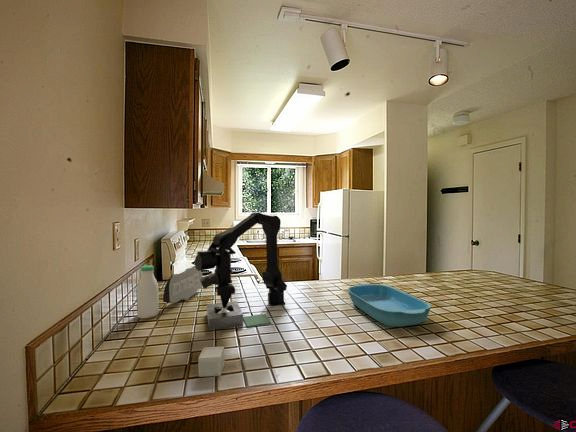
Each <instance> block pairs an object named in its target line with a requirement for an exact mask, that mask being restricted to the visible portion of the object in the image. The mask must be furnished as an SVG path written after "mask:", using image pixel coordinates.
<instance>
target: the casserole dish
mask: <svg viewBox="0 0 576 432" xmlns="http://www.w3.org/2000/svg"><path fill="white" fill-rule="evenodd" d="M347 290H348V294H349V298H350V301H351V302H352V303H353V304H354V305H355V307H357V308H359V310H361V311H362V312H364V313H365V314H367V315H368V316H370V317H371V318H372V319H374V320H375V321H377V322H379V323H380V324H381V325H383V326H387V327H393V328H394V327H395V328H399V327H407V326H413V325H419V324H422V323H424V322H425V321H426V320H427V318H428V315H430V314H429V313H430V310H431V308H432V305H431V304H429V303H428V302H427V301H425V300H423V299H420V298H418V297H416V296H414V295H412V294H409V293H407V292H404V291H402V290H400V289H398V288H395V287H393V286H390V285H386V284H370V283H361V284H356V285H353V286H349V287H348V288H347Z"/></svg>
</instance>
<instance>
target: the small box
mask: <svg viewBox="0 0 576 432" xmlns="http://www.w3.org/2000/svg"><path fill="white" fill-rule="evenodd" d="M197 360H198V378H200V377H201V378H203V377H221V375H222V373H223V370H224V367H225V365H226V361H225V360H226V359H225V346H208V347H207V346H206V347H203V348H202V349H201V352H200V354H199V356H198V359H197Z"/></svg>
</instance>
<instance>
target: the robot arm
mask: <svg viewBox="0 0 576 432" xmlns="http://www.w3.org/2000/svg"><path fill="white" fill-rule="evenodd" d="M281 221H282V220H281V217H279V216H278V215H268V214H264V213H261V212H251V214H249V215H248V216H247V217H246V218H244V219H243V220H241V221H240V222H238V223H237V224H235V225H234V226H233V227H231V228H229V229H227V230H224V231H221V232H219V233H216V234H215V235H214V236H213V238H212V242H211V243H210V245H209V246H208V248H207V250H206V251H205V250H204V251H199V250H198V251H197V252H196V253H197V254H196V256H195V259H194V266H195V267H196V269H197V270H198V271H200V270H201V271H205V270H210V269H212V270H213V269H214V268H215V269H214V272H213V273H211V274H208V275H205V276H202V278H201V279H200V281H201V284H202V286H201V287H202V288H203V290H204V289H207V288H208V287H210V286H213V285H214V289H215V290H216V295H217V296H219V297H220V303H222V305H223V308H226V306H227V304H228V302H230V299H231V296H232V295H235V294H236V288H235V285H233V280H232V272H233V269H232V257H231V256H232V255H235V254H236V251H235V250H234V249H233V248H232V247H233V246H234V245H235V244H236V243H237V242H238V239H239V238H240V237H241V236H242V235H244V234H245V233H246V232H247V231H249V230H250V229H252V228H253V227H255V226H256V225H257V224H258V225H261V228H262V231H263V233H264V235H265V247H266V251H265V252H266V268H265V270H264V271H262V273H261V275H262V279H261V280H262V281H263V284H264V285H265V287H266V289H267V290H268V292H267V302H268V303H269V305H270V306H279V305H285V304H286V302H285V293H284V292H285V291H286V290H287V288H288V284H287V283H285V282H284V280H283V277H282V272H281V270H280V268H279V266H278V265H279V262H278V261H279V259H278V258H279V257H278V256H279V255H278V234H279V232H280V230H281Z"/></svg>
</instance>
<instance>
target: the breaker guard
mask: <svg viewBox="0 0 576 432" xmlns="http://www.w3.org/2000/svg"><path fill="white" fill-rule="evenodd" d="M226 309H227V310H228V311H230V312H224V313H218V312H220V311H221V310H222V302H218V303H210V304H209V303H208V304H206V319H207V326H209V327H208V331H214V330H215V329H216V330H221V329H229V328H235V327H241V326H244V320H243V317H244V313H243V311H242V309H241V307H240V305H239V303H238V301H237V300H236V301H228V304H227V306H226ZM216 330H215V331H216Z"/></svg>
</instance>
